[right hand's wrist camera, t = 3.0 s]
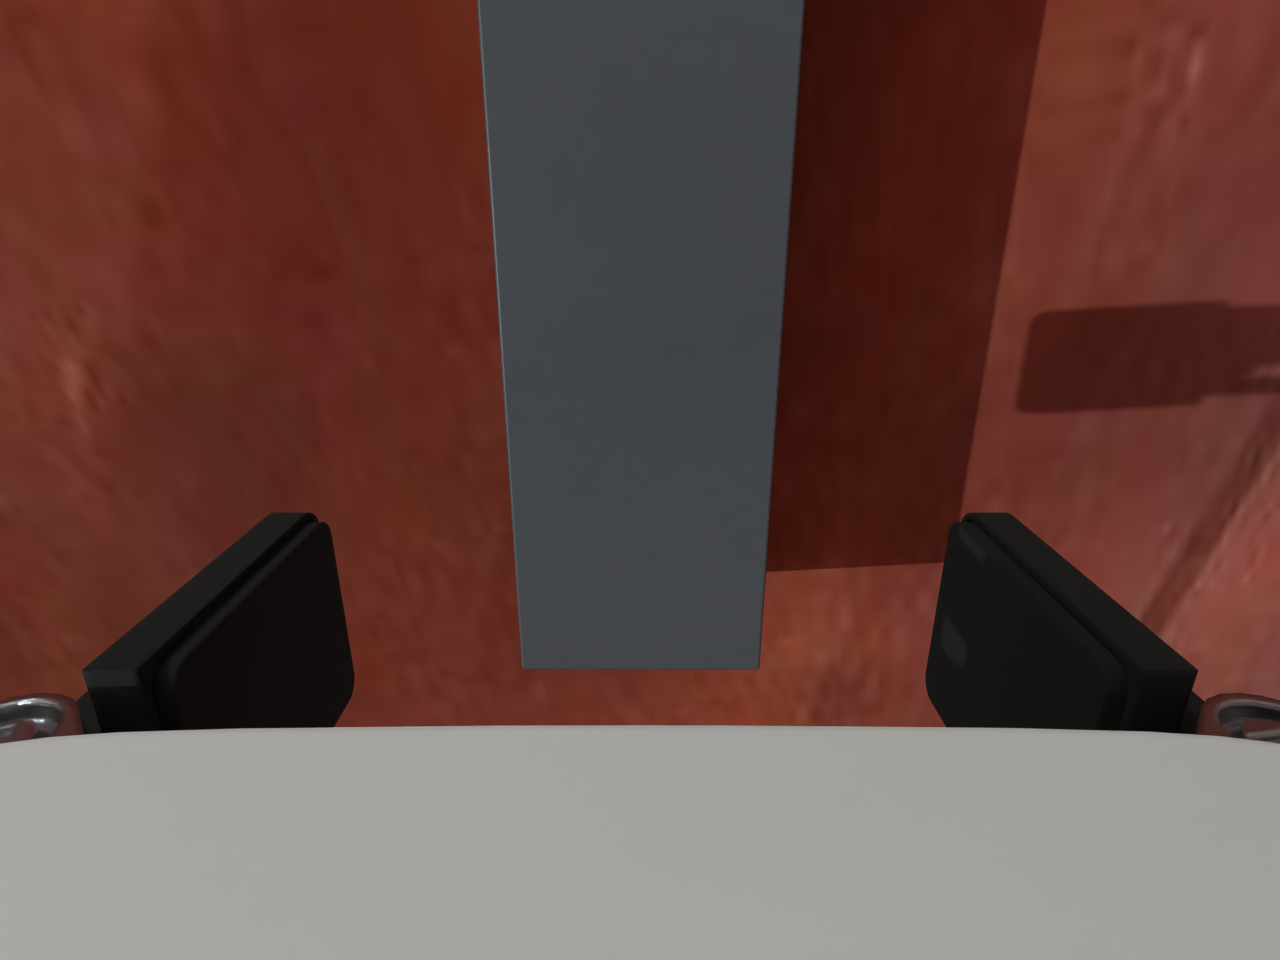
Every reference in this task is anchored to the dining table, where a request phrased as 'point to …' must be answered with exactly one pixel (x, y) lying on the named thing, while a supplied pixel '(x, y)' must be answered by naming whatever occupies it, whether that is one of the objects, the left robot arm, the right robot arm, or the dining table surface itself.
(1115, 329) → the dining table surface
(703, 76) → the bar
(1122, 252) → the dining table surface
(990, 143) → the dining table surface
